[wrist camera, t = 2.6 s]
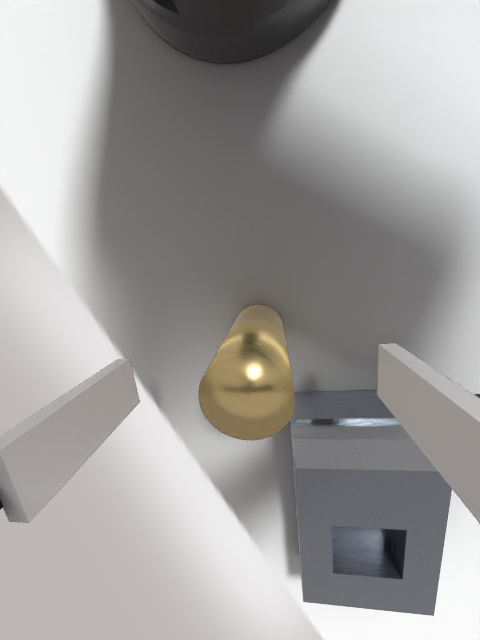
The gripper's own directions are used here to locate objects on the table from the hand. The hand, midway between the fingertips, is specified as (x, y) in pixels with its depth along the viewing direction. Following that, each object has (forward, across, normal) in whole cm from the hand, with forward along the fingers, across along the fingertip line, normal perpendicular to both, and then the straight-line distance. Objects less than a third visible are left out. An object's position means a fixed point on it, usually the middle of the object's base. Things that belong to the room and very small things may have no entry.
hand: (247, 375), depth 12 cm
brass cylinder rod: (+7, 0, 0) cm, 7 cm away
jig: (+7, +8, -16) cm, 19 cm away
